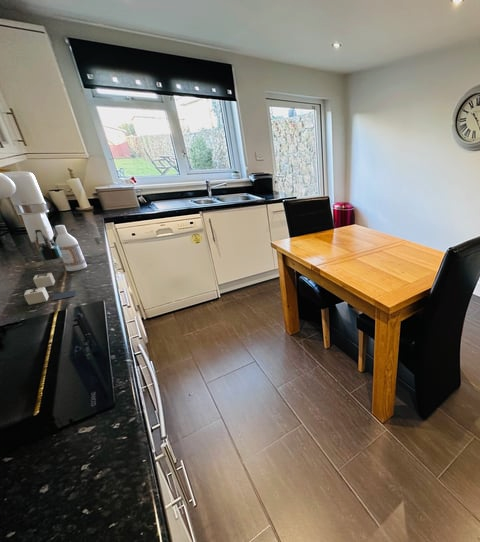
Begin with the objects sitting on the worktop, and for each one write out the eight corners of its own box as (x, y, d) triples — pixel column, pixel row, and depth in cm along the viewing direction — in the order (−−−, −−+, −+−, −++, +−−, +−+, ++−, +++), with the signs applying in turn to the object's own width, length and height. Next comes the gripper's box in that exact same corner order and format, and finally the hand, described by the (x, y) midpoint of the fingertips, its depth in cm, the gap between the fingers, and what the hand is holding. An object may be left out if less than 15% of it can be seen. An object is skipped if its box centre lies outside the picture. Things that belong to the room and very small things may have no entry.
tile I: (28, 305, 98) (23, 294, 97) (31, 299, 101) (26, 289, 100) (47, 301, 101) (42, 291, 99) (49, 296, 104) (44, 286, 102)
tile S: (43, 260, 103) (38, 250, 101) (45, 257, 106) (40, 246, 104) (60, 258, 105) (56, 247, 104) (62, 255, 108) (57, 244, 107)
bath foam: (62, 272, 124) (43, 228, 116) (73, 266, 130) (55, 224, 122) (81, 271, 125) (63, 227, 118) (90, 265, 132) (74, 223, 124)
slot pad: (51, 301, 101) (51, 300, 101) (54, 294, 105) (53, 294, 105) (74, 296, 105) (74, 295, 105) (76, 290, 109) (75, 289, 109)
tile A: (37, 288, 110) (32, 278, 108) (39, 284, 113) (35, 274, 111) (53, 285, 112) (49, 276, 111) (55, 281, 115) (51, 272, 114)
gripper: (21, 206, 102) (41, 253, 109) (10, 214, 90) (34, 266, 97) (50, 204, 106) (68, 249, 114) (43, 211, 95) (64, 261, 102)
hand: (52, 256), depth 105 cm, fingers closed on tile S, 4 cm apart
